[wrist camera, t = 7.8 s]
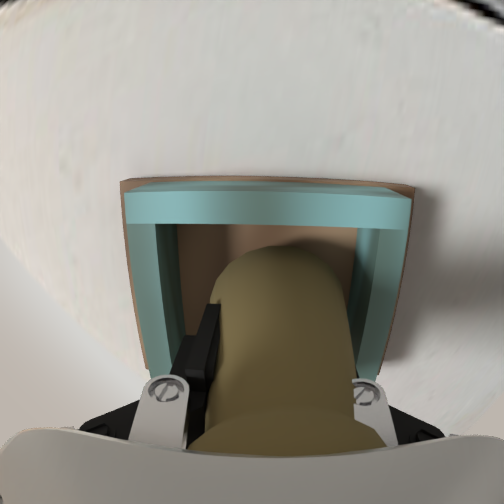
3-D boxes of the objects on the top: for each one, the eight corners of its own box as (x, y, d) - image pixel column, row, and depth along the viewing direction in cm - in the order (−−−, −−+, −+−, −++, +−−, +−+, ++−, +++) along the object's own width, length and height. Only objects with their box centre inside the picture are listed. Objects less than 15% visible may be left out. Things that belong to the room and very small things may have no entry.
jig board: (405, 184, 15) (445, 200, 11) (373, 362, 18) (392, 408, 14) (129, 178, 15) (88, 192, 11) (151, 357, 19) (130, 402, 15)
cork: (342, 237, 13) (492, 471, 3) (344, 355, 15) (402, 567, 4) (197, 254, 13) (70, 499, 3) (222, 367, 15) (185, 583, 5)
